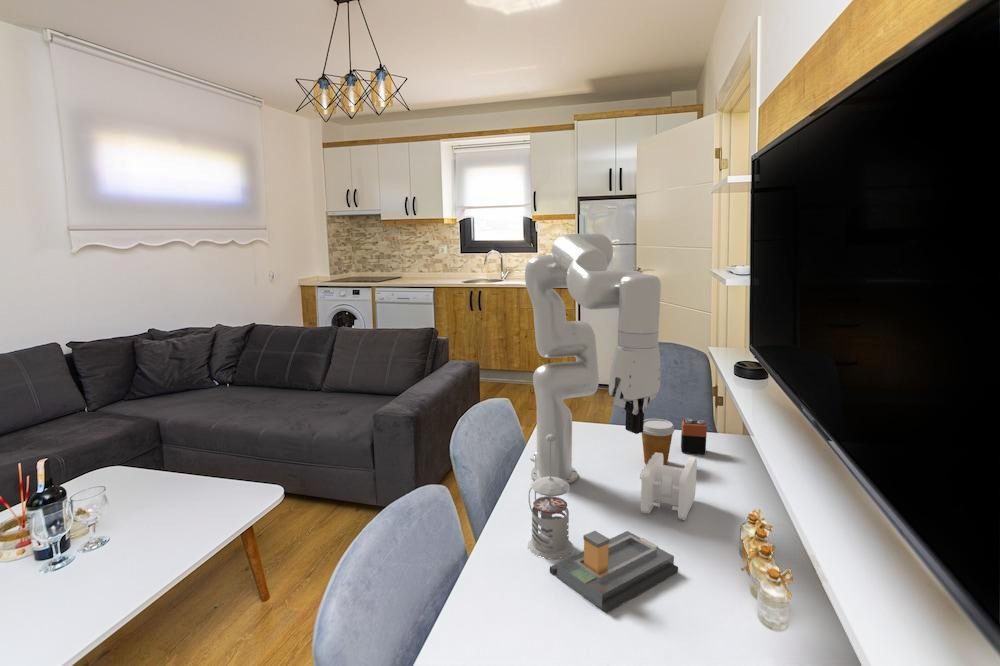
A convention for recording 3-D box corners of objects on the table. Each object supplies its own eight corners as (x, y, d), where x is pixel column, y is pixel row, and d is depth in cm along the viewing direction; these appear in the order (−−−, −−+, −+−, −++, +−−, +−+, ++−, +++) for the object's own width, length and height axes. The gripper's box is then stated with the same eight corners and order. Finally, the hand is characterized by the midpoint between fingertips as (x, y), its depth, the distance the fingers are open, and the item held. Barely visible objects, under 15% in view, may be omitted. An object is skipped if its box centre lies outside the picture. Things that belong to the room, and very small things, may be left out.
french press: (545, 564, 115) (545, 447, 111) (513, 538, 125) (512, 429, 121) (582, 549, 121) (584, 437, 116) (549, 526, 130) (549, 421, 126)
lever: (583, 566, 109) (583, 535, 108) (594, 560, 111) (594, 530, 109) (597, 575, 106) (598, 544, 105) (608, 570, 108) (609, 538, 106)
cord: (549, 572, 113) (549, 566, 112) (619, 539, 124) (619, 534, 124) (553, 575, 112) (553, 569, 111) (623, 541, 123) (623, 536, 123)
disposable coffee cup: (676, 461, 166) (678, 421, 163) (667, 472, 158) (669, 431, 155) (644, 454, 171) (646, 416, 168) (633, 465, 163) (635, 425, 160)
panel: (556, 577, 111) (556, 559, 110) (627, 543, 123) (628, 526, 122) (601, 610, 101) (601, 589, 101) (674, 569, 113) (674, 551, 112)
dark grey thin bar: (601, 609, 101) (601, 603, 101) (672, 569, 113) (673, 564, 113) (606, 613, 101) (606, 606, 100) (677, 572, 112) (678, 567, 112)
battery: (680, 448, 175) (682, 416, 174) (703, 449, 174) (705, 418, 172) (681, 453, 171) (683, 421, 169) (705, 455, 170) (707, 423, 168)
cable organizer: (684, 527, 129) (686, 479, 127) (637, 516, 134) (639, 470, 132) (695, 499, 142) (698, 455, 140) (653, 491, 147) (654, 448, 145)
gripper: (648, 332, 116) (645, 418, 119) (595, 341, 107) (593, 433, 111) (679, 338, 110) (674, 428, 113) (625, 348, 101) (621, 445, 105)
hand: (634, 431), depth 112 cm, fingers closed
